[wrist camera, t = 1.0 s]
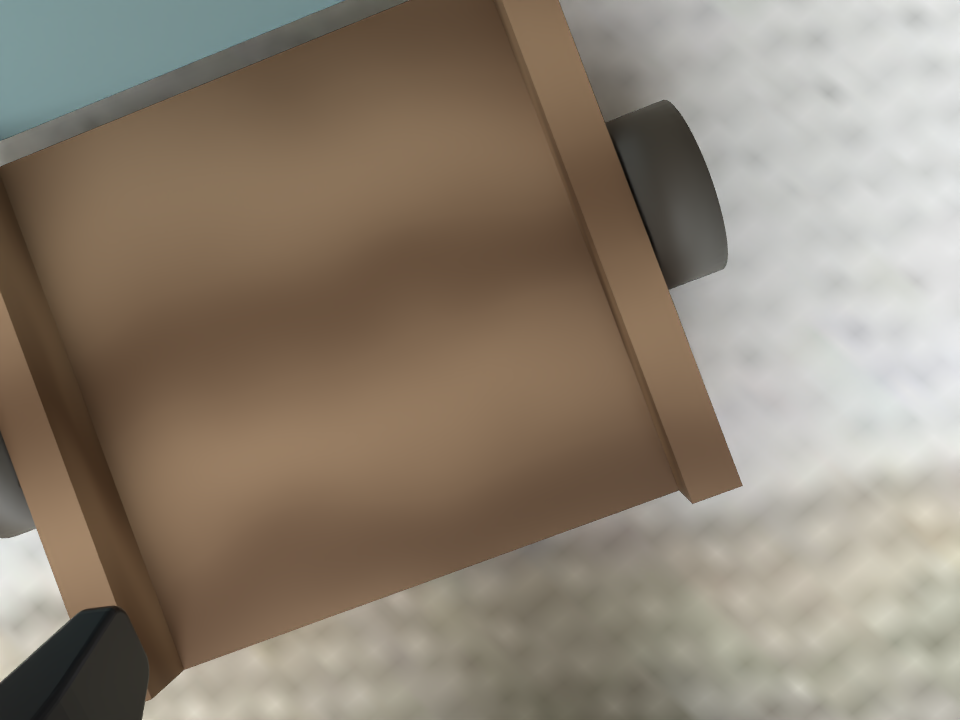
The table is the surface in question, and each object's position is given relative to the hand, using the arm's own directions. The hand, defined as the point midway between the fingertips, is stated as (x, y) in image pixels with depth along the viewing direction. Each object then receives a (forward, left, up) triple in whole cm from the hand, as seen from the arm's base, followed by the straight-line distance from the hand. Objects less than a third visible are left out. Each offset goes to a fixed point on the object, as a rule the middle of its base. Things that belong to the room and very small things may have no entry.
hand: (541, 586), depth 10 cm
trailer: (+1, +6, -15) cm, 17 cm away
